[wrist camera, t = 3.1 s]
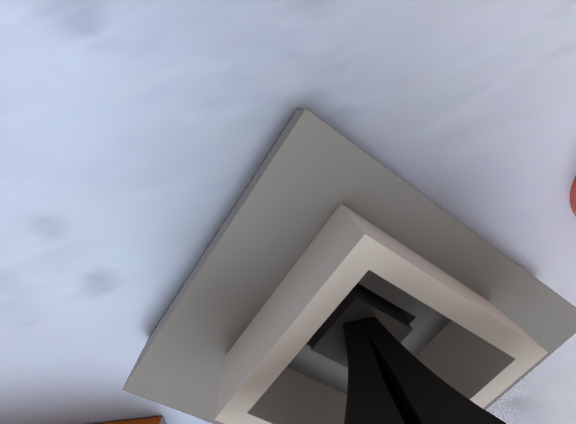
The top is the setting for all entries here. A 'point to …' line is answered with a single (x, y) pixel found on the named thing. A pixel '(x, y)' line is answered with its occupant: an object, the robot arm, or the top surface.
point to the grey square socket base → (339, 292)
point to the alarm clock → (141, 421)
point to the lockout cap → (573, 196)
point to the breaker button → (355, 308)
